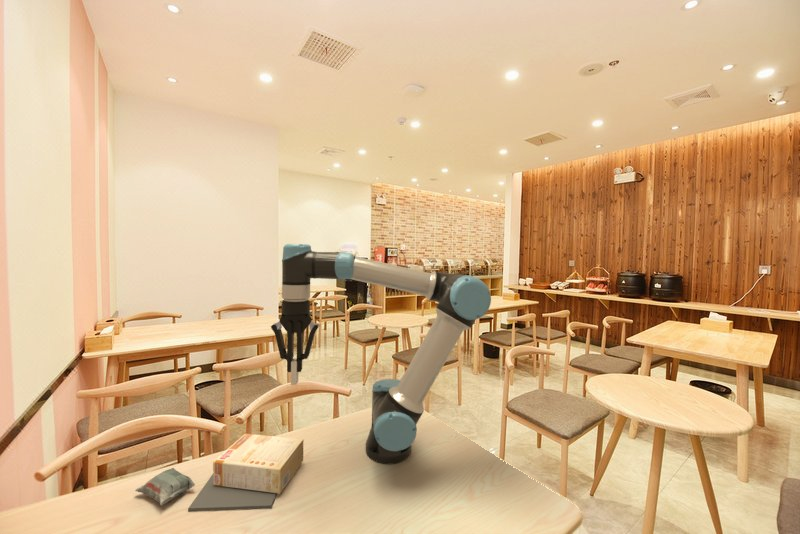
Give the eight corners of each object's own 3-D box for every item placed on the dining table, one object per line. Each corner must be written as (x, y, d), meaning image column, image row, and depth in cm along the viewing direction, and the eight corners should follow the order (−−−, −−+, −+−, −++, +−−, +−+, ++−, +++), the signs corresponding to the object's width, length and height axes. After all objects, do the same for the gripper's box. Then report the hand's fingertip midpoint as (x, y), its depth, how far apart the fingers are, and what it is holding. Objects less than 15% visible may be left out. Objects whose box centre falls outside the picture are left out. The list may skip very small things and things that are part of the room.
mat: (289, 461, 103) (289, 459, 103) (271, 508, 84) (271, 505, 84) (222, 463, 102) (222, 460, 102) (188, 511, 83) (188, 508, 83)
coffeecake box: (303, 460, 103) (244, 453, 105) (304, 438, 102) (245, 431, 105) (279, 495, 88) (212, 486, 91) (280, 469, 88) (212, 460, 90)
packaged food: (160, 514, 82) (160, 494, 82) (134, 497, 87) (135, 478, 87) (196, 492, 90) (196, 474, 89) (170, 478, 95) (170, 461, 95)
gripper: (321, 298, 97) (320, 378, 98) (275, 297, 96) (274, 378, 97) (317, 301, 90) (316, 388, 90) (267, 300, 88) (266, 388, 89)
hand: (294, 383), depth 94 cm, fingers closed
